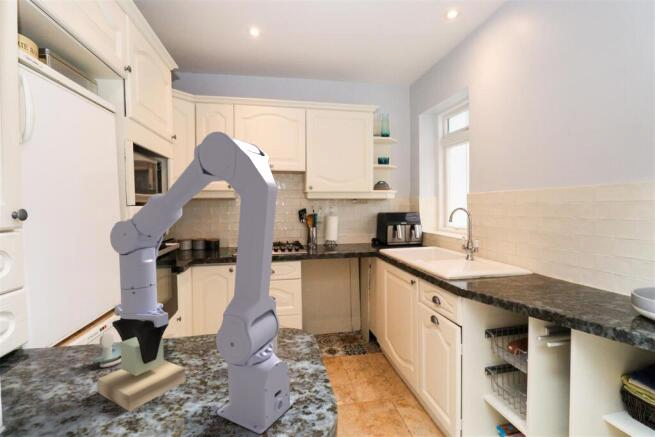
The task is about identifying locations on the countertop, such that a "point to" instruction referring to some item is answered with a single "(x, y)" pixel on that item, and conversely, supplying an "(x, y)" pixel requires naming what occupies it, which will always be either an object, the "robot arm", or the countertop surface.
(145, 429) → the countertop surface
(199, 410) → the countertop surface
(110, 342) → the pacifier
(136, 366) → the green cube
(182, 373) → the block
